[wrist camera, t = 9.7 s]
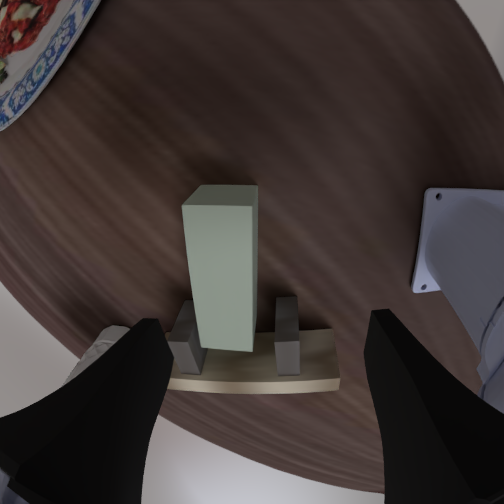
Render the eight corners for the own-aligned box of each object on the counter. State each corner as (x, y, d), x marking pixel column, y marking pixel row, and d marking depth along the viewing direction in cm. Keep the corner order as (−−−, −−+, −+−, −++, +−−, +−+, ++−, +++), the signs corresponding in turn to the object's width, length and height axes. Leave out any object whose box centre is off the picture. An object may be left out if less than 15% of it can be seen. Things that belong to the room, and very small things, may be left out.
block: (258, 184, 17) (252, 206, 14) (257, 313, 22) (252, 351, 18) (201, 184, 17) (181, 205, 14) (212, 310, 22) (201, 347, 19)
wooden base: (334, 293, 20) (345, 343, 16) (331, 341, 22) (338, 390, 18) (153, 300, 22) (129, 343, 18) (171, 343, 24) (153, 386, 20)
